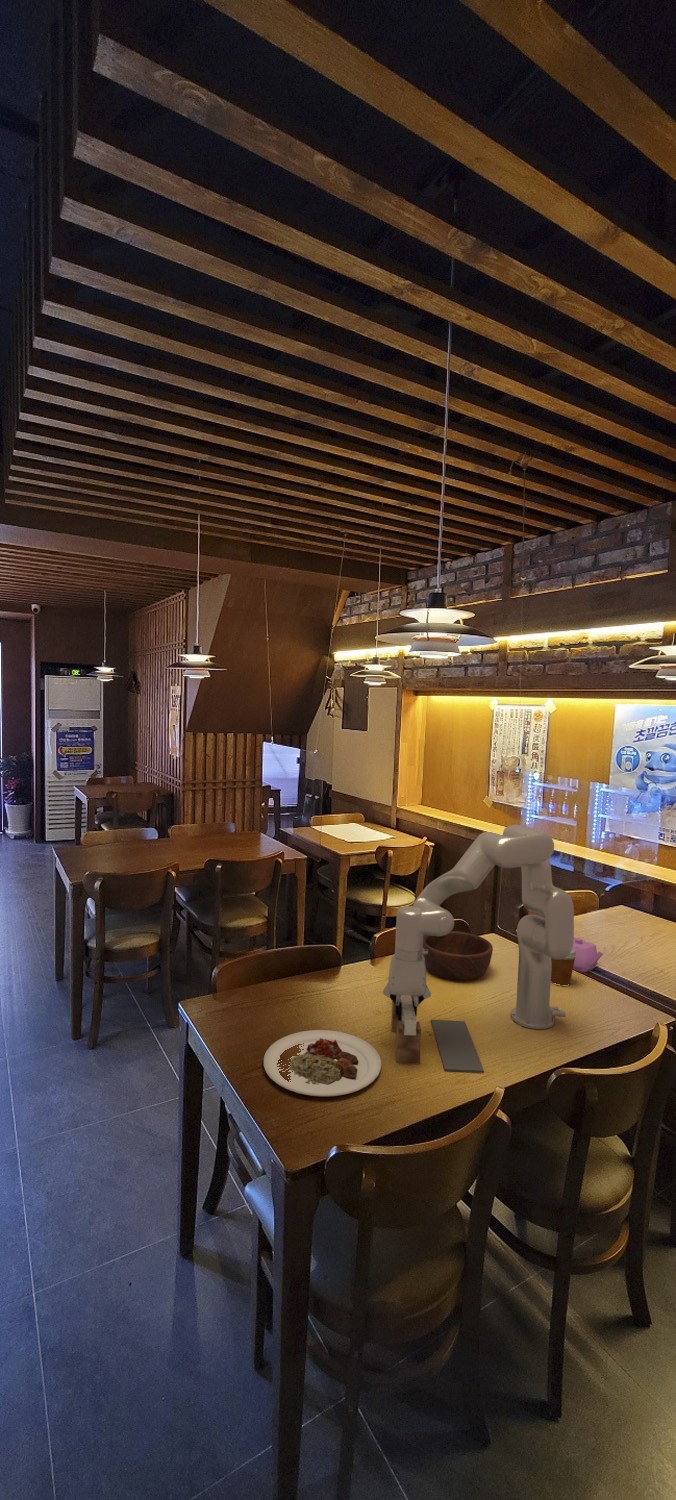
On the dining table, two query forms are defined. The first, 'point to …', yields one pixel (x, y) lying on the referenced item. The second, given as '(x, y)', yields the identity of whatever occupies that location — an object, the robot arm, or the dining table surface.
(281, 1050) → the plated food
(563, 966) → the disposable coffee cup
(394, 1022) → the post
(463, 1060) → the mat
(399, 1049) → the post
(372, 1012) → the dining table surface
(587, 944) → the teapot
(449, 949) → the wooden bowl
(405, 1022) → the rail
